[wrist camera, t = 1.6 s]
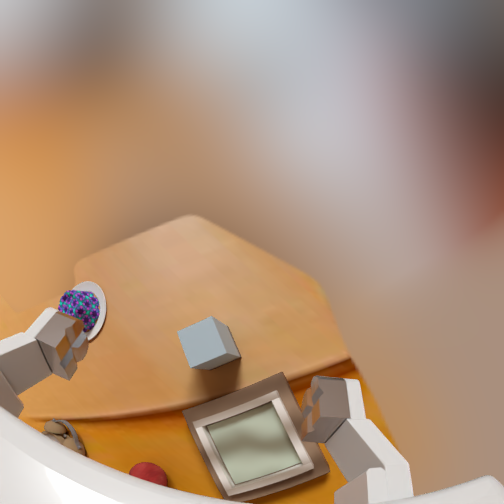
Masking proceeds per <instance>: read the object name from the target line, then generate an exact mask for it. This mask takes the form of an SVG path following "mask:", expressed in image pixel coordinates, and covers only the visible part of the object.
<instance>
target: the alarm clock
mask: <svg viewBox="0 0 504 504" xmlns="http://www.w3.org/2000/svg"><path fill="white" fill-rule="evenodd" d="M60 422H62V423H64V424H65V425H66V426H67V427H68V428H69V429H70V431H71V433H72V435H73V438H70V437H69V436H68V435H67V434H66V432H67V430H66V427H65V426H64V425H63V424H62V423H60ZM44 429H45V430H46V431H43V432H42V434H44V435H45V436H47V437H49V438H51V439H52V440H54V441H56V442H58V443H60V444H61V445H63V446H65V447H67V448H69V449H71V450H73V451H75V452H77V453H79V454H81V455H83V456H85V453H86V452H85V448H84V446H83V444H82V443H81V442H80V441H79V440H78V436H77V434H76V432H75V430H74V428H73V427H72V426H71V424H69V423H68V422H67V421H65V420H57V421H56V420H55V419H54V418H53V420H52V421H48V422H46V423H45V426H44Z"/></svg>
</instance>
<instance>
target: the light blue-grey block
mask: <svg viewBox="0 0 504 504" xmlns="http://www.w3.org/2000/svg"><path fill="white" fill-rule="evenodd" d="M177 333H178V336H179V339H180V341H181V344H182V347H183V350H184V352H185V355H186V358H187V360H188V363H189V366H190V368H195V369H205V370H212V369H215V368H217V367H220V366H222V365H224V364H227V363H229V362H231V361H234V360H236V359H238V358H241V355H240V353H239V350H238V348H237V346H236V344H235V341H234V339H233V337H232V334H231V332H230V330H229V327H228V326H226V325H225V324H223V323H222V322H220V321H218V320H217V319H215V318H214V317H212V316H211V317H208V318H206V319H204V320H202V321H200V322H198V323H195V324H193V325H191V326H189V327H186V328H184V329H182V330H180V331H177Z"/></svg>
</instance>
